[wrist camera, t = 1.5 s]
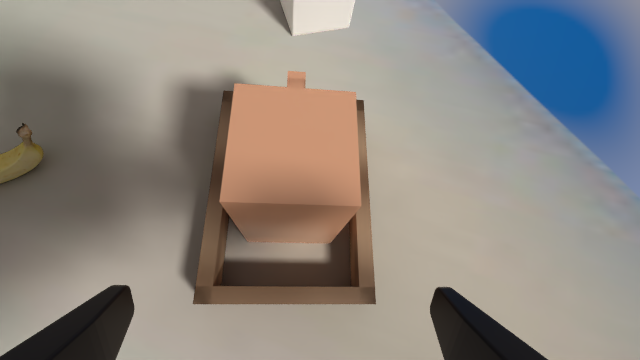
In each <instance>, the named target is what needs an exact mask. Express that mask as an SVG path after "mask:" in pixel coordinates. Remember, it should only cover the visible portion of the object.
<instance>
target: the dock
mask: <svg viewBox="0 0 640 360" xmlns="http://www.w3.org/2000/svg"><path fill="white" fill-rule="evenodd" d="M233 92H234V91H224V92H223V99H222V106H221V113H220V120H219V127H218V134H217V141H216V148H215V155H214V161H213V168H212V175H211V182H210V189H209V196H208V203H207V210H206V217H205V224H204V231H203V238H202V245H201V252H200V259H199V266H198V272H197V279H196V286H195V293H194V300H193V304H376V299H375V282H374V266H373V249H372V233H371V216H370V199H369V183H368V166H367V150H366V133H365V117H364V100H356V106H357V126H358V146H359V166H360V186H361V208H360V209H359V210H358V211H357V212H356V213H355V215H354V216H353V217H352V218H351V219H350V220H349V235H350V265H351V287H276V286H221V283H222V274H223V266H224V257H225V248H226V240H227V231H228V222H229V215H228V213H227V212H226V210H225V209H224V208H223V206H222V205H221V203H220V202H219V201H220V193H221V185H222V178H223V170H224V162H225V154H226V147H227V139H228V131H229V123H230V116H231V108H232V100H233Z"/></svg>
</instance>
